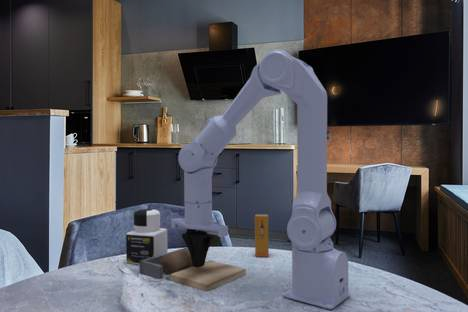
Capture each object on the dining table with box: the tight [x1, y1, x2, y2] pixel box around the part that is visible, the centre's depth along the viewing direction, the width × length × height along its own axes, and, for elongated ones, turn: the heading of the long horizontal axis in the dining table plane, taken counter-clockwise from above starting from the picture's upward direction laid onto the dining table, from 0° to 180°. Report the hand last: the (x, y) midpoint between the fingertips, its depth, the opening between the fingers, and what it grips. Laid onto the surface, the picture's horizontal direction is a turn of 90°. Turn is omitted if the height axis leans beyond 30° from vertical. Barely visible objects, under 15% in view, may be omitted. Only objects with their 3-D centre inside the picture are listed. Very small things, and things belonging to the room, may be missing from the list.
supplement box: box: [254, 213, 270, 258], centre depth 97 cm, size 3×3×10 cm
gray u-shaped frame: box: [138, 248, 181, 280], centre depth 88 cm, size 7×14×2 cm, turn 141°
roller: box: [160, 246, 193, 276], centre depth 87 cm, size 4×8×4 cm
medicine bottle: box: [125, 208, 168, 265], centre depth 93 cm, size 7×7×12 cm
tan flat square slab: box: [165, 260, 247, 292], centre depth 82 cm, size 11×12×1 cm
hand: (198, 266), depth 83 cm, fingers closed
